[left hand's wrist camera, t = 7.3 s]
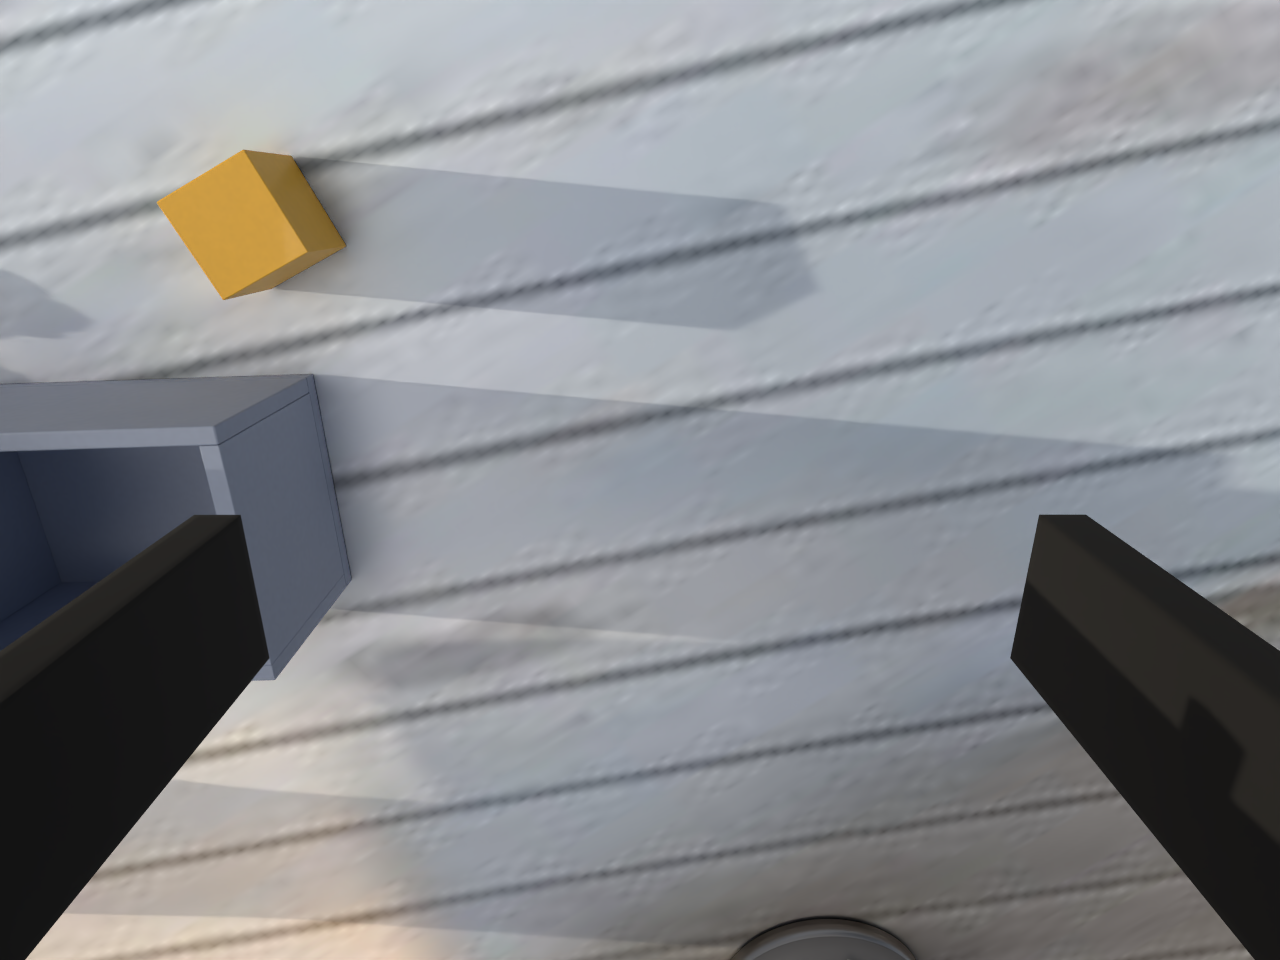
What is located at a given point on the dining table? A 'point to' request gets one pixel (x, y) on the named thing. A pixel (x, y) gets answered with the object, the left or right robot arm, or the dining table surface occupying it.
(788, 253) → the dining table surface
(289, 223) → the block
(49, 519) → the chest
